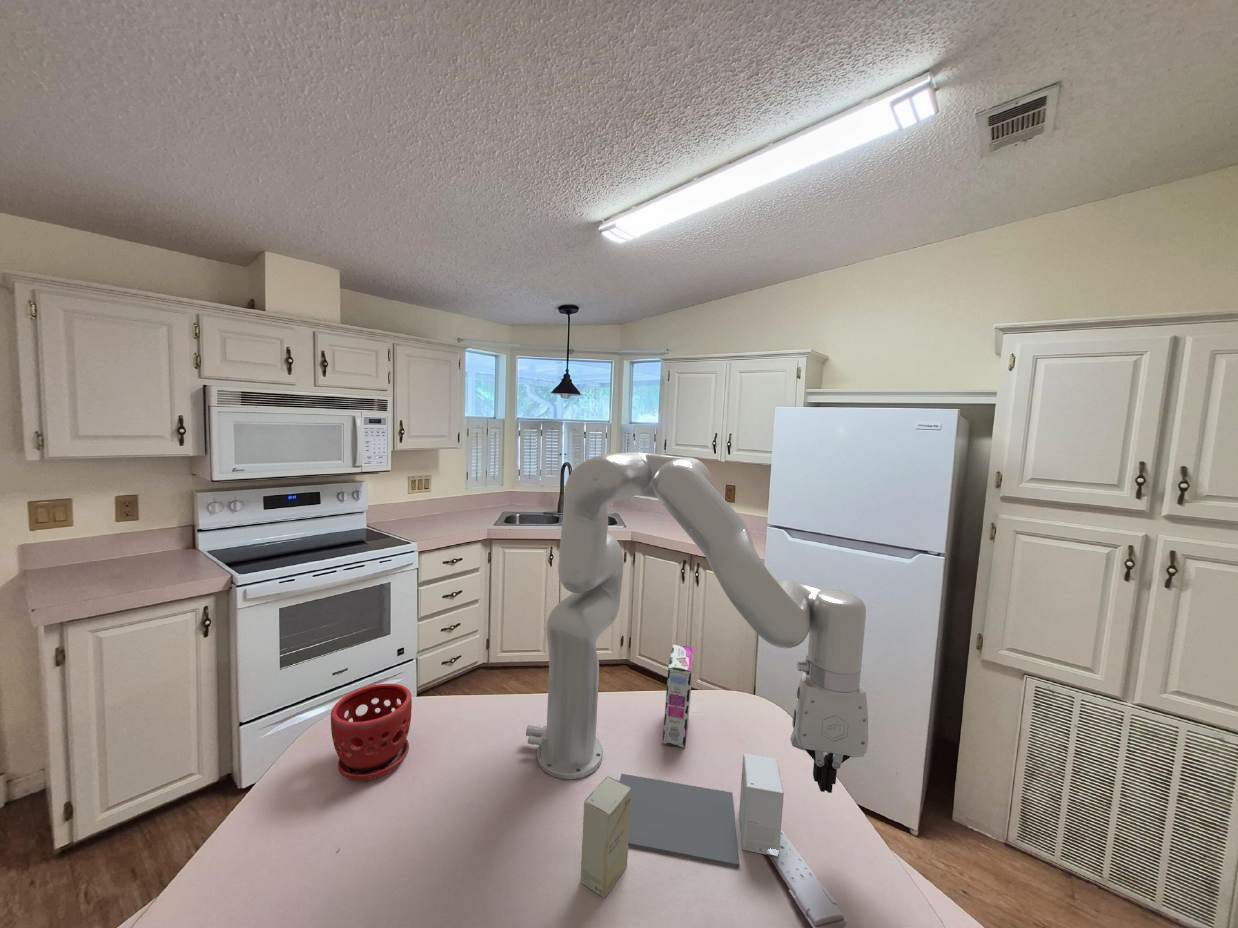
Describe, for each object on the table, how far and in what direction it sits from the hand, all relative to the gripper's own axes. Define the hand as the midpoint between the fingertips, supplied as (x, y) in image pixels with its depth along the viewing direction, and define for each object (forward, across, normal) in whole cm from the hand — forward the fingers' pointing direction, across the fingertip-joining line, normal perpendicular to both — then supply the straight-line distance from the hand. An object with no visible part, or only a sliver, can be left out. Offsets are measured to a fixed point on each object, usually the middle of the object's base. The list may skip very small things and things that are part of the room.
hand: (823, 785), depth 74 cm
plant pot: (+9, -78, 0) cm, 79 cm away
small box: (+10, -9, 0) cm, 14 cm away
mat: (+10, -23, 0) cm, 25 cm away
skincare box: (+10, -32, -12) cm, 36 cm away
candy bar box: (+10, -23, +23) cm, 34 cm away
